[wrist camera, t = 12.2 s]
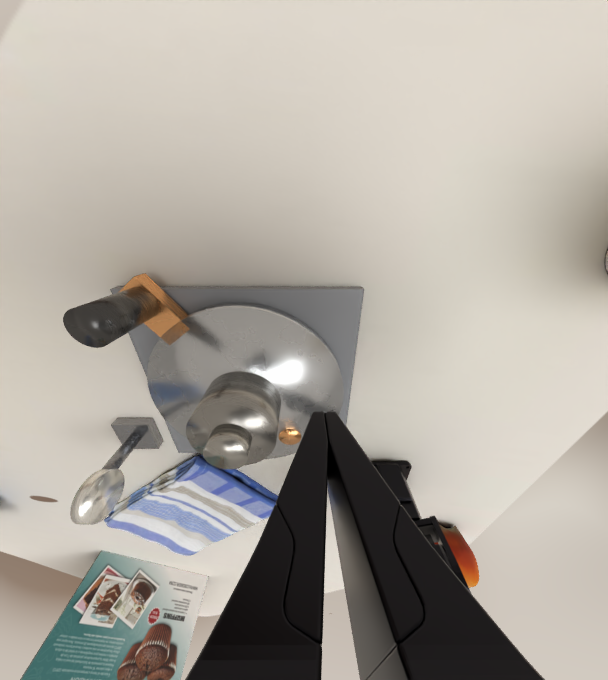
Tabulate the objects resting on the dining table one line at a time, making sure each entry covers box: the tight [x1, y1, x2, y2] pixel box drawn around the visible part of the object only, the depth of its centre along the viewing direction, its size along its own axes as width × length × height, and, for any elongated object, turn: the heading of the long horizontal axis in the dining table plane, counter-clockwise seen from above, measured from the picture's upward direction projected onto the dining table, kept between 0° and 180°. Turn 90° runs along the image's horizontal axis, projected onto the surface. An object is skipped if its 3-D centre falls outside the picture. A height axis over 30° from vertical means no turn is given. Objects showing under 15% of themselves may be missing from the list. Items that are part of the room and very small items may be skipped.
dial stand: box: [71, 418, 163, 524], centre depth 21 cm, size 4×4×9 cm
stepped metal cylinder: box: [186, 371, 281, 469], centre depth 18 cm, size 7×7×6 cm
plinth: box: [110, 287, 364, 453], centre depth 22 cm, size 20×20×1 cm
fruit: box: [434, 520, 479, 588], centre depth 34 cm, size 8×8×8 cm
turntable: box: [63, 274, 344, 459], centre depth 18 cm, size 22×18×6 cm
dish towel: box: [104, 455, 278, 556], centre depth 33 cm, size 17×24×3 cm
